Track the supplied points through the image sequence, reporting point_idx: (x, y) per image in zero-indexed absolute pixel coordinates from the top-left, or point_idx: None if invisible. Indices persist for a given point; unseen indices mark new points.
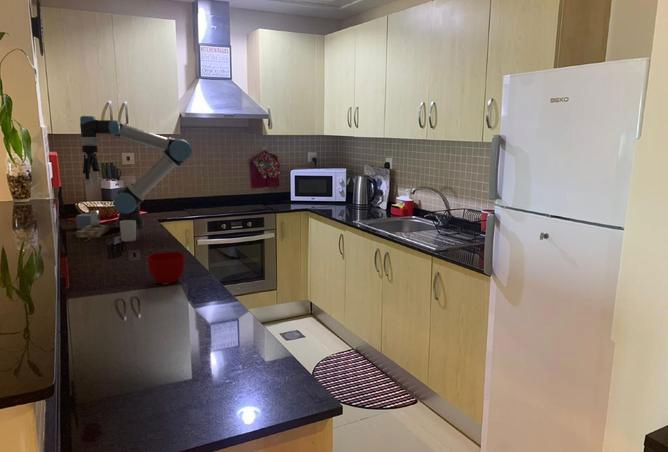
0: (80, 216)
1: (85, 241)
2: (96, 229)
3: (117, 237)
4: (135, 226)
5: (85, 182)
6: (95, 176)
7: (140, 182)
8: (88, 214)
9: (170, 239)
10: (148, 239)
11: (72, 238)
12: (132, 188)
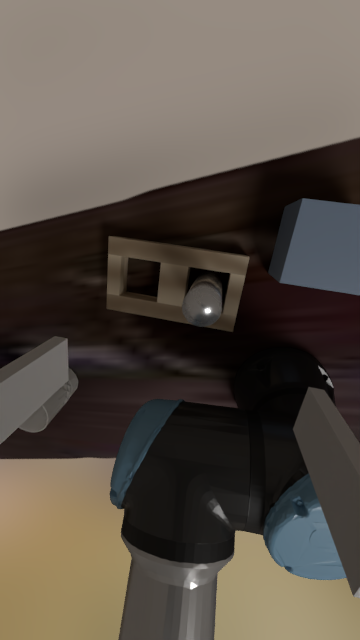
0: (295, 222)
1: (56, 274)
2: (157, 298)
3: (103, 353)
4: (35, 419)
5: (34, 349)
6: (330, 475)
7: (123, 634)
8: (343, 254)
9: (65, 456)
10: (69, 418)
11: (105, 225)
12: (132, 557)
